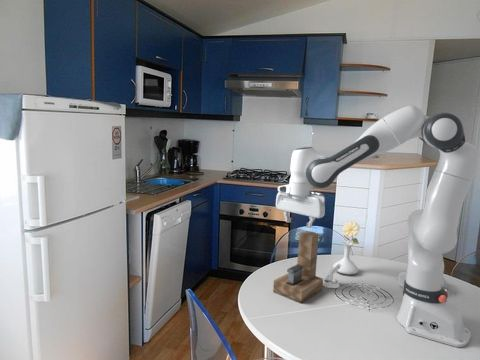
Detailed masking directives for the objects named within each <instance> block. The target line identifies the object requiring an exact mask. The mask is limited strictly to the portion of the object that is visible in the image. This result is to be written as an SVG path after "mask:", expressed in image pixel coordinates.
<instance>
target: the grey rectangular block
mask: <svg viewBox="0 0 480 360" xmlns="http://www.w3.org/2000/svg"><path fill="white" fill-rule="evenodd" d="M303 267H304V265H301V264H295V265H293V266H291V267H289V268H287V269H286V273H287V274H288V284H289V285H292V286H294V285H296V284H298V283H300V282H301V277H302V269H303Z"/></svg>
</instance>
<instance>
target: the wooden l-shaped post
mask: <svg viewBox="0 0 480 360" xmlns="http://www.w3.org/2000/svg"><path fill="white" fill-rule="evenodd" d="M298 235H299V236H298V247H297V248H298V249H297V250H298V251H297V260H296V261H297V264H301V265H304V267H303V269H302V277H301V282H300V283H298V284H296V285H294V286H292V285H289V284H288V273H286V274H284V275H282V276H279V277H278V278H275V279H274V280H273V286H272V287H273V289H272V292H273V293H275V294H276V295H279V296H282V297H285V298H287V299H289V300H292V301H294V302H296V303H299V304H302V303H304V302H305V301H308V300H309V299H311V298H312V297H314V296H315V295H317V294H319V293H320V292H322V291H323V287H324V286H323V279H324V278H323V277H321V276H320V277H319V276H317V275H316V274H317V273H316V272H317V262H318V261H317V260H318V248H319V236H320V234H319V233H316V232H312V231H307V230H304V231H302V232H299V234H298ZM297 264H296V265H297Z"/></svg>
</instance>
